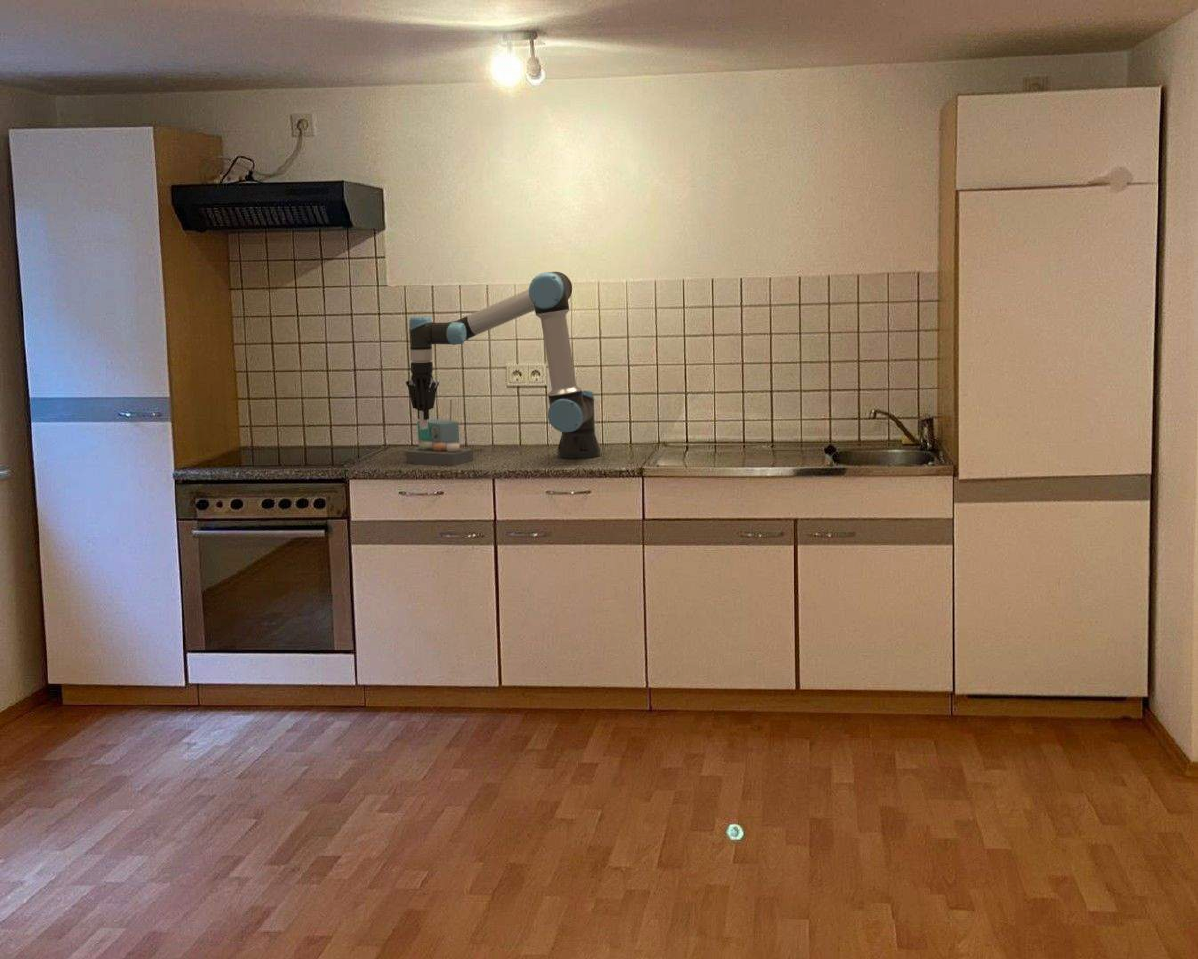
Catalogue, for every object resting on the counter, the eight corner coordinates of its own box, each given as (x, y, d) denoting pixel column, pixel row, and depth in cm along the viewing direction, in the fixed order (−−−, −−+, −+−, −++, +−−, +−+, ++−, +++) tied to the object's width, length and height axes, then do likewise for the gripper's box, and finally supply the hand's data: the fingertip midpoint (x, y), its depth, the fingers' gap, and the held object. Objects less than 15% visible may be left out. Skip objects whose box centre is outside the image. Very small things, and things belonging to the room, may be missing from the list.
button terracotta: (448, 449, 511) (448, 442, 511) (440, 451, 508) (440, 444, 507) (438, 449, 514) (437, 442, 513) (430, 451, 510) (430, 443, 510)
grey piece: (473, 460, 511) (473, 449, 511) (452, 465, 501) (452, 454, 500) (427, 457, 521) (427, 446, 521) (406, 462, 511) (406, 451, 511)
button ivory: (462, 450, 508) (462, 443, 508) (454, 452, 505) (454, 445, 504) (452, 450, 511) (451, 443, 510) (444, 451, 507) (444, 444, 506)
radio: (416, 453, 535) (413, 398, 532) (437, 450, 540) (434, 396, 537) (438, 457, 523) (436, 401, 519) (460, 454, 528) (457, 399, 525)
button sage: (434, 449, 514) (434, 442, 514) (427, 450, 511) (426, 443, 510) (424, 448, 517) (424, 441, 516) (416, 450, 513) (416, 443, 513)
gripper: (443, 361, 509) (445, 428, 512) (413, 360, 515) (415, 426, 519) (429, 363, 502) (432, 431, 506) (399, 361, 509) (402, 429, 513)
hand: (423, 428), depth 513 cm, fingers closed
